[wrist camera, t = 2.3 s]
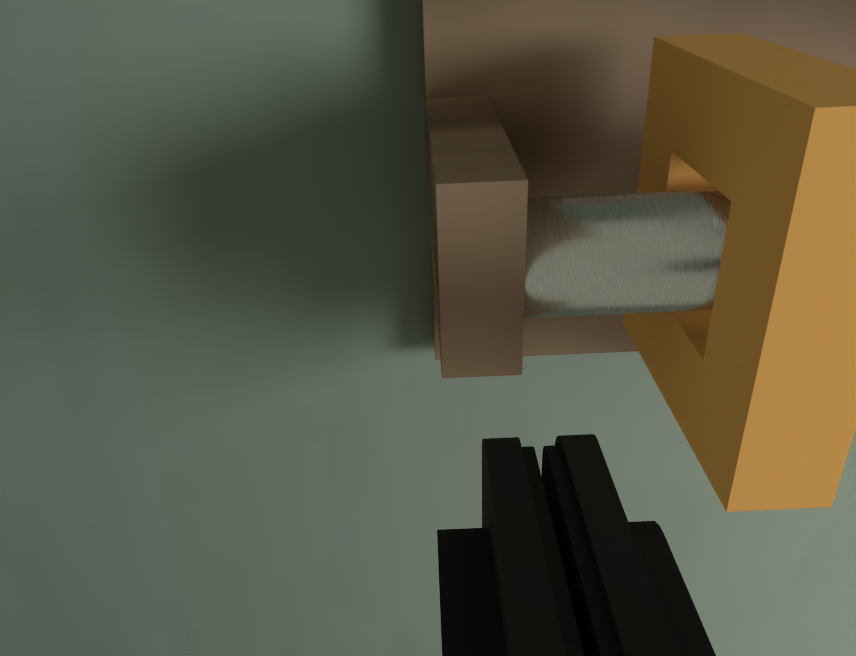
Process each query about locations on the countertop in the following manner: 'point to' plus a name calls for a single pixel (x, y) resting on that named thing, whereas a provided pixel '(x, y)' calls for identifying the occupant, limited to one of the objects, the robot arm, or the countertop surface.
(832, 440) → the collar
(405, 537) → the countertop surface
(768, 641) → the countertop surface
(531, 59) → the pipe stand
